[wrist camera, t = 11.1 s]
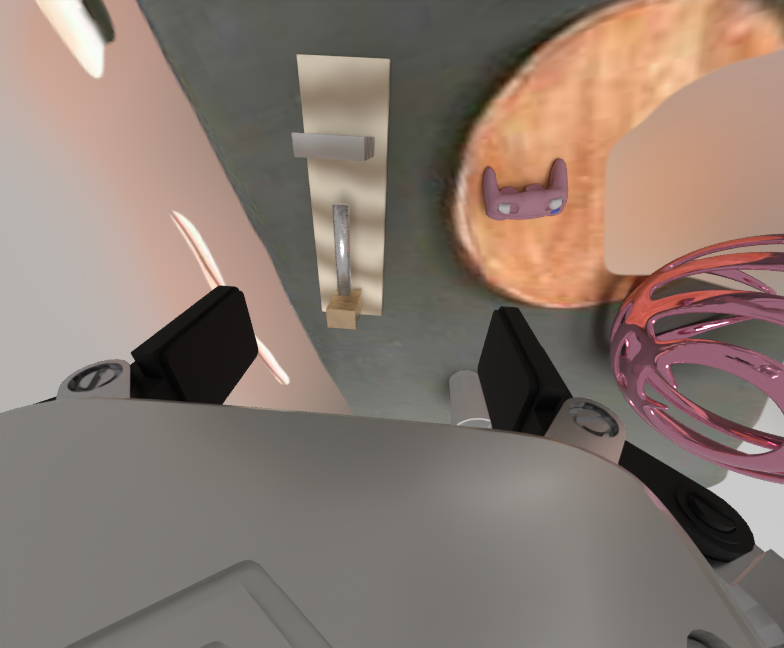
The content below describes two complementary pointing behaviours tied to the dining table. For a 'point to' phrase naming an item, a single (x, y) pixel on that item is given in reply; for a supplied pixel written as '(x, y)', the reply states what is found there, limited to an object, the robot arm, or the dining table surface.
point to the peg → (343, 275)
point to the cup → (468, 400)
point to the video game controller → (526, 196)
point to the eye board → (347, 164)
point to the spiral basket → (702, 352)
